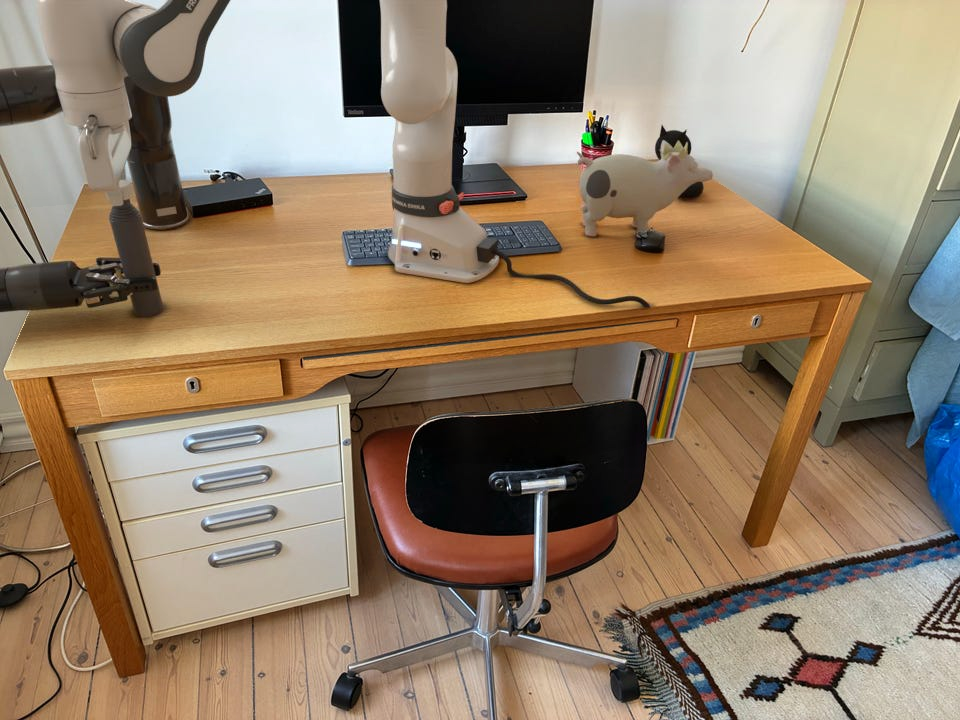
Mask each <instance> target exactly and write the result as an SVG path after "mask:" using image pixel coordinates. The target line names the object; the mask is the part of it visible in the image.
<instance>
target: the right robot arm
mask: <svg viewBox="0 0 960 720" xmlns="http://www.w3.org/2000/svg"><path fill="white" fill-rule="evenodd" d="M230 2H231V0H165V2H164V3H163V4H162V5H161V6H160V7H158V8H156V7H154V6H151V5H148V4H144V3H141V2H138V1H137V2H136V1H134V0H133V1H132V0H36V14H37V21H38V26H39V31H40V34H41V40H42V42H43V46H44V50H45V53H46V56H47V58H48V60H49V62H50V63H51V65H53V68H54V70H55V75H56V88H57V92H58V95H59V99H60V102H61V106H62V109H63V112H62V113H63V117H64V119H65V122H66V123H67V124H68V125H70V126H73V127H77V131H78V133H79V135H78V141H77V142H78V150H79V154H80V155H79V156H80V159H81V162H82V167H83V171H84V176H85V179H86V184H87V185H88V187H89V190H91V191H92V192H104V191H106V193H107V194H108V197H109V200H108V201H109V203H110V206H112V207H113V206H121V205H123V203H124V197H123V193H122V191H121V189H120V186H119V181H120V180H127V171H126V164H127V158H128V155H129V152H130V150H131V135H130V128H129V121H128V120H129V119H131V117H132V113H131V109H130V105H129V100H128V96H127V92H126V88H125V84H124V78H125V77H126V76H129V77H130V78H131V80H132V81H133V82H134V83H135V84H136V85H137V86H139V87H140V88H141V89H143V90H144V91H146V92H148V93H151V94H154V95H157V96H164V97H168V98H169V97H170V98H171V97H176V96H180V95H182V94H184V93H186V92H187V91H189V90H190V89H192V88H193V87H194V86H195V84H197V82H198V80H199V79H200V76H201V75H202V71H203V67H204V62H205V54H206V48H207V44H208V41H209V39H210V37H211V34H212V32H213V31H214V29H215V27H216V25H217V24H218V22H219V20H220V19H221V17H222V15H223V14H224V12H225V10H226V8H227V7H228V5H229V4H230ZM379 7H380V58H381V59H380V61H381V85H380V87H381V88H380V96H381V101H382V104H383V106H384V109H385V110H386V112H387V113H388V115H390V116H391V117H392V118H393V119H394V120H395V122H394V123H395V124H394V125H395V126H394V132H393V140H392V146H391V147H392V150H391V151H392V173H393V174H392V177H393V184H392V185H391V206H392V207H391V208H392V211H393V219H392V220H393V221H392V223H393V224H392V231H391V238H390V243H389V247H388V250H387V257H388V259H389V260H390V261H391V263H393V265H394V270H395V271H396V272H397V273H401V274H408V275H413V276H419V277H426V278H431V279H438V280H445V281H451V282H457V283H462V284H463V283H464V284H470V283H474V282H477V281H479V280H482V279H484V278H485V277H487V276H488V275H490V274H491V273H492V272H493V271H494V270H495V269H496V268H497V267H498V265H499V264H500V258H501V260H503V261H504V262H505V263H506V270H507V273H508V274H509V275H511V276H512V277H514V278H521V279H522V278H525V279H538V280H554V281H559V282H561V283H562V284H563V283H564V284H565V285H567V286H569V287H570V288H571V289H572V290H573V291H574V292H575V293H576V294H578V296H580V297H582V299H584V300H586V301H587V302H591V303H593V304H597V305H602V306H603V305H604V306H608V305H615V304H619V303H626V302H635V303H639V304H640V305H642V306H643V307H644V308H651V305H650V304H649V303H648V301H646V300H645V299H644V298H642V297H641V296H636V295H625V296H619V297H614V298H606V299H605V298H597V297H594V296H592V295H589V294H588V293H586V292H585V291H584V290H582V289H581V288H580V287H579V286H578V285H576V283H574V282H573V281H572V280H570V279H568V278H566V277H564V276H561V275H557V274H552V273H539V274H522V273H519V272H518V271H515V270H514V269H513V267H512V265H513V263H512V260H511V258H510V257H509V256H508V255H506V254H505V253H504V252H502V251H500V250H498V248H499V239H496V238H492V237H488V235H487V232H486V229H484V228H483V226H481V224H479V223H478V221H476V220H475V219H474V218H472V217H471V216H470V214H468V212H466V211H465V210H464V209H463V208H462V207H461V204H460V201H461V200H463V199H464V191H462V192H461V193H459V194H457V192H456V190H455V188H454V185H453V183H452V182H453V181H452V180H453V179H452V178H453V143H454V142H453V141H454V131H455V121H456V108H457V96H458V94H457V93H458V79H459V78H458V76H459V74H458V73H459V72H458V69H459V68H458V63H457V60H456V57H455V56H454V54H453V52H452V51H451V50H450V49H449V47H448V46H447V43H446V40H447V39H446V37H447V11H448V0H379Z"/></svg>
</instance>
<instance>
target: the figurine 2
mask: <svg viewBox="0 0 960 720" xmlns="http://www.w3.org/2000/svg"><path fill="white" fill-rule="evenodd" d="M687 131H688V129H687V128H686V129H684V131H680V130H676V129H672V130H666V129H665V126H664V125H663V124H661V127H660V132H659V137H658V138H657V139H656V142H655V144H654V152H655V156H656V158H657V160H658V161H659V160H661V152H660V149H661V144H662V141H663V140H664V141H666V142H667V143H669V144H670V145H671V146H672V148H674V146H675V145H676V143H677V141H678V140H679V141H680V143H681V145H682V146H683V148H684V147H685V145H686V143H687V142H688V147H687V151H688V153H687V154H688V155H689V156H691V152H692V141H691V139H690V138H689V136H688V135H687ZM704 189H705V187H704V182H696V183H694V184H692V185H690V186H689V187H688V188H687V189H686V190H685V191H684V192H683V193H682V194H680V196H679V197H678V198H677V199H688V200H689V199H697V198H699V197H700V196H701V195H702V194H703V192H704Z"/></svg>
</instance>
